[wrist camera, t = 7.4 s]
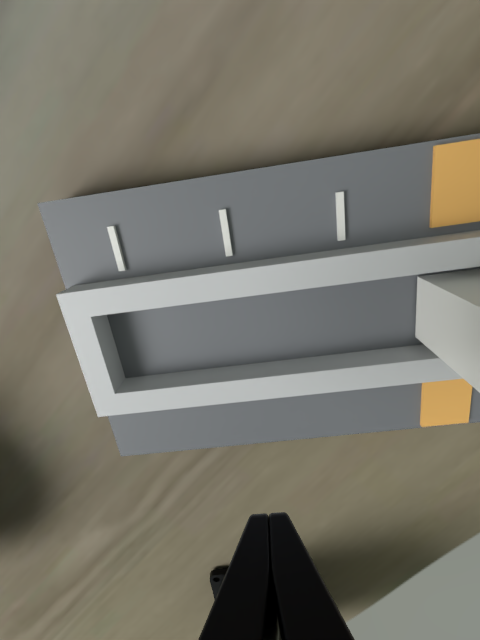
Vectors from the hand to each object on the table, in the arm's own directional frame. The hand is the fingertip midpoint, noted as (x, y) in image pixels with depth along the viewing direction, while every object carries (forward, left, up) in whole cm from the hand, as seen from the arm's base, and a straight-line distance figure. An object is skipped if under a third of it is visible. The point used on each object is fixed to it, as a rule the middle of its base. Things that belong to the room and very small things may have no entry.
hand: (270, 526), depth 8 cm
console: (+1, -4, -12) cm, 13 cm away
